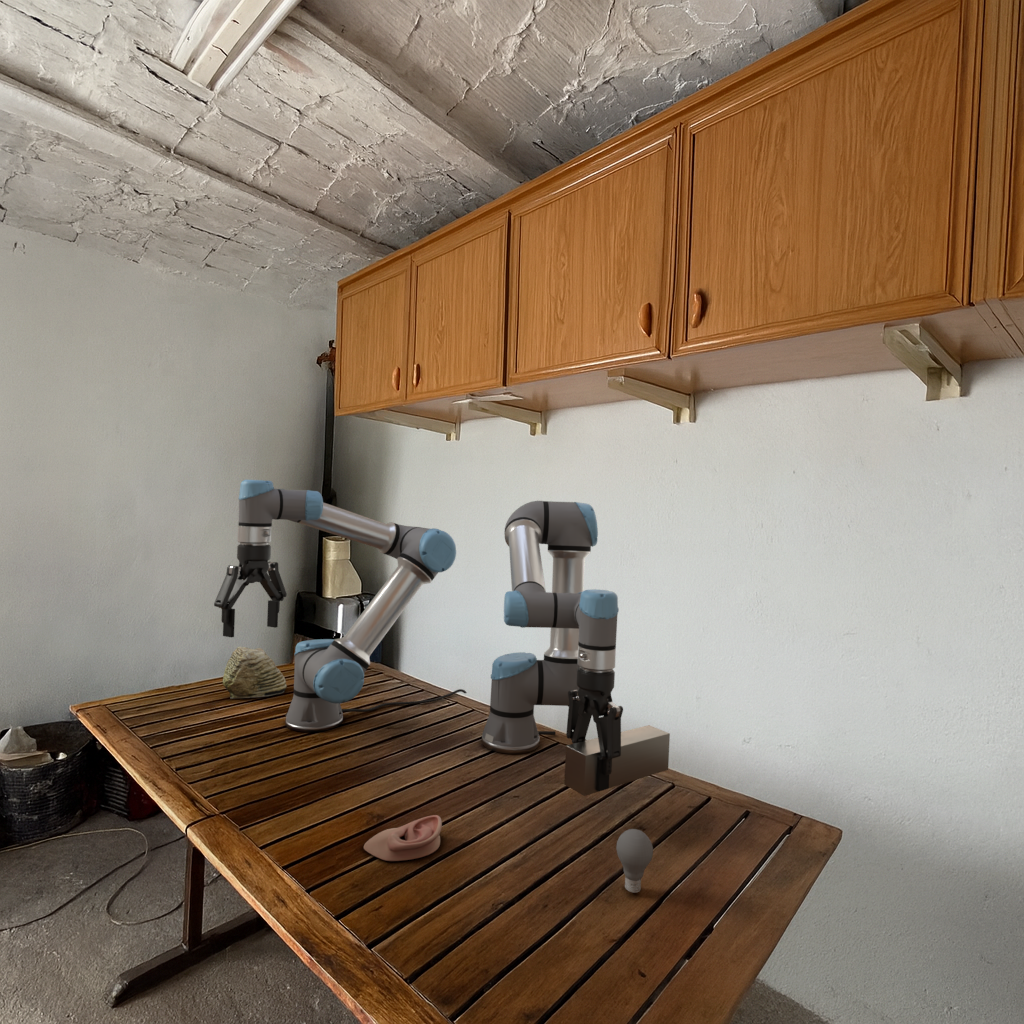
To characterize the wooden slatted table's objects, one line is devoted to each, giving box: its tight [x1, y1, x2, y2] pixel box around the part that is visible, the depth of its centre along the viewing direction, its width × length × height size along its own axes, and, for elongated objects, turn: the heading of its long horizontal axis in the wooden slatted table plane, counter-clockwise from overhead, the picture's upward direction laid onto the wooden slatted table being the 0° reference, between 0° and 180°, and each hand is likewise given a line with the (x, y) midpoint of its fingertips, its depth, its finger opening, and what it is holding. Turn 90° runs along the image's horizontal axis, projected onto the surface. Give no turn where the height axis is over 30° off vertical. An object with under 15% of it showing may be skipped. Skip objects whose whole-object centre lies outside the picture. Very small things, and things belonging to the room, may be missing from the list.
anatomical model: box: [363, 814, 443, 862], centre depth 116 cm, size 13×4×12 cm
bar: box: [563, 724, 671, 797], centre depth 131 cm, size 24×6×8 cm, turn 126°
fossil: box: [222, 646, 288, 699], centre depth 198 cm, size 9×18×15 cm, turn 132°
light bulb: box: [615, 828, 654, 894], centre depth 106 cm, size 6×6×10 cm
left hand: (251, 631), depth 153 cm, fingers open, 13 cm apart
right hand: (590, 782), depth 127 cm, fingers closed on bar, 6 cm apart
